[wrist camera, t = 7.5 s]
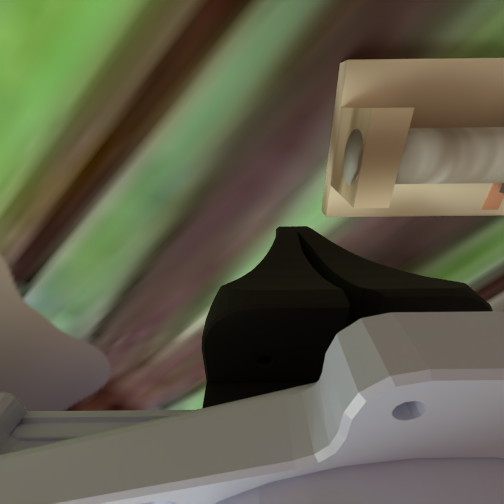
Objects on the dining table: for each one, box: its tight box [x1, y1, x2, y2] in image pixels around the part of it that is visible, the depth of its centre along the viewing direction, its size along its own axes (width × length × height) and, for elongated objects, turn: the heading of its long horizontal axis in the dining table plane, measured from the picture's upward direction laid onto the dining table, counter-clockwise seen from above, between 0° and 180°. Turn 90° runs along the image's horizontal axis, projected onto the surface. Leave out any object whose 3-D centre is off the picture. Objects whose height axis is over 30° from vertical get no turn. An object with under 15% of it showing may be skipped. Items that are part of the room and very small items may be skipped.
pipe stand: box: [322, 58, 504, 217], centre depth 16 cm, size 10×18×7 cm, turn 91°
